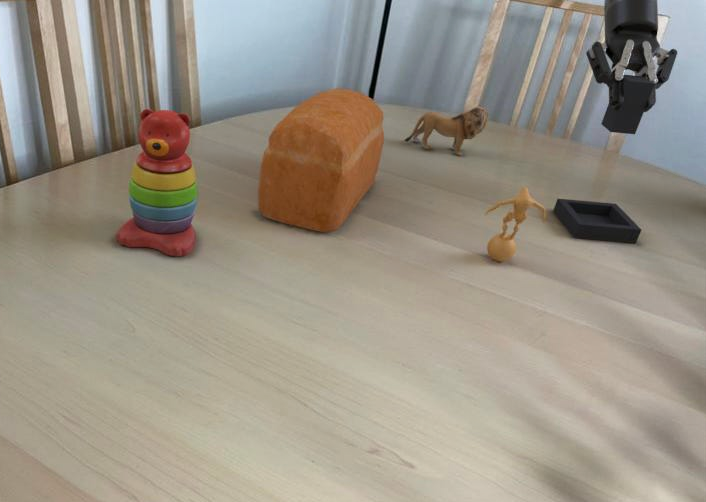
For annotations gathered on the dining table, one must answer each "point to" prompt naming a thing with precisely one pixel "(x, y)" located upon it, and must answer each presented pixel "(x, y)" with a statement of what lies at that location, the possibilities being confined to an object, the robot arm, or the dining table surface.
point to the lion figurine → (451, 126)
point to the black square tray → (596, 221)
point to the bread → (321, 160)
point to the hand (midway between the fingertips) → (632, 107)
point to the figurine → (504, 244)
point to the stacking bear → (162, 187)
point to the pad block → (629, 105)
